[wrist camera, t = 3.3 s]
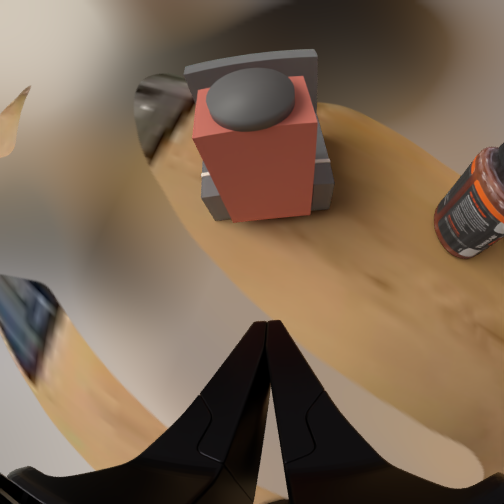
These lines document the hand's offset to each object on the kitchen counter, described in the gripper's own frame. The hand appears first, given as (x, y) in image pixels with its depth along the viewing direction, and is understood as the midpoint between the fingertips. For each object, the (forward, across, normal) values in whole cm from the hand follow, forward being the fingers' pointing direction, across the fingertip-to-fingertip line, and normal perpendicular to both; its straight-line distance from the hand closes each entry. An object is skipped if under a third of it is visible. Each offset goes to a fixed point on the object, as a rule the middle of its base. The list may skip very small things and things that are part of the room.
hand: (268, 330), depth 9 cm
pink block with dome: (+15, 0, 0) cm, 15 cm away
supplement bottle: (+14, -17, +4) cm, 22 cm away
